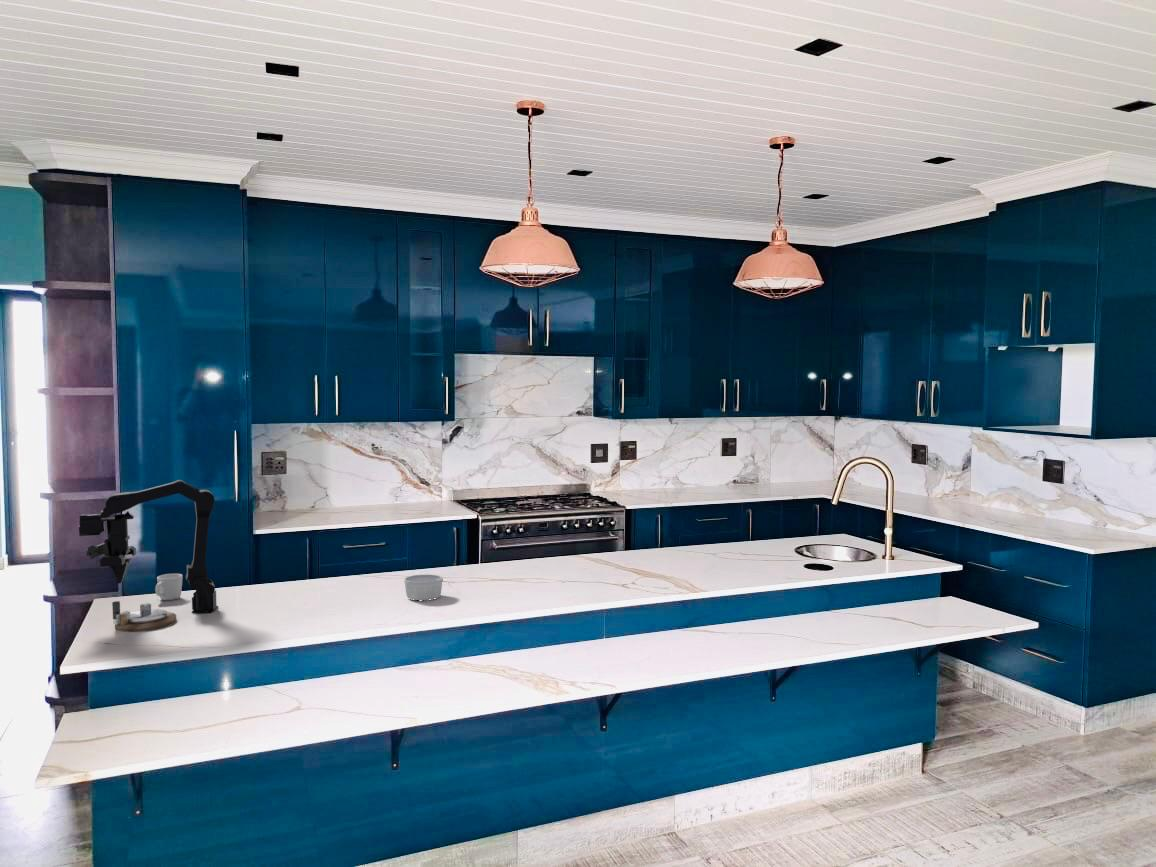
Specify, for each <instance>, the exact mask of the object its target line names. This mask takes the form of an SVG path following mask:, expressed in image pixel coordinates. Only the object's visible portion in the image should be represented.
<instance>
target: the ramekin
mask: <svg viewBox="0 0 1156 867" xmlns="http://www.w3.org/2000/svg"><path fill="white" fill-rule="evenodd" d="M403 583H404V586H405V587H404V588H405V594H406V597H407V599H409V598H410V599H414V600H429V599H434V598H438V597H439V598H440V597H441V594H442V588H443V587H442V586H443V583H444V578H443V576H441V575H438V574H430V573H427V574H426V573H425V574H413V575H409V576H406V577H405V578H404V579H403ZM439 598H438V599H439ZM410 599H409V600H410Z"/></svg>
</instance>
